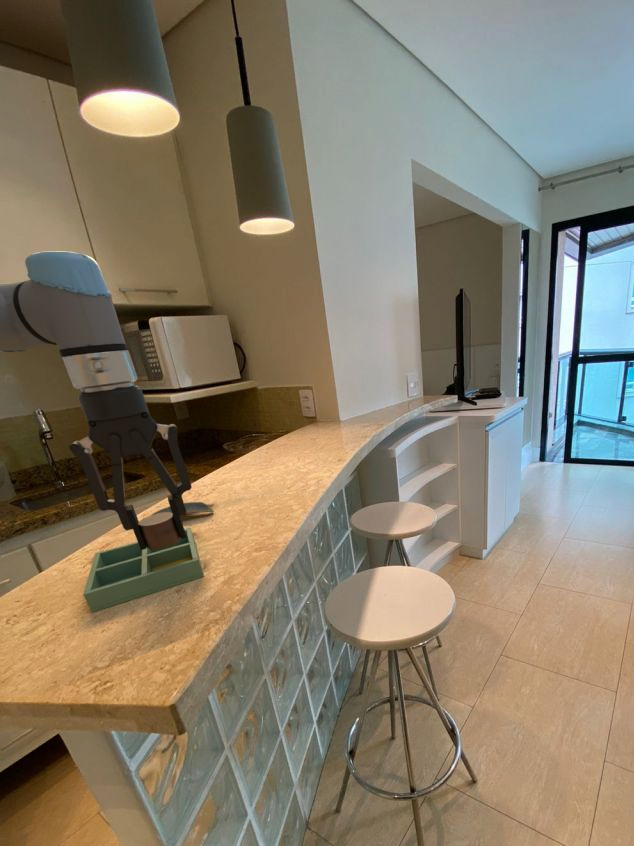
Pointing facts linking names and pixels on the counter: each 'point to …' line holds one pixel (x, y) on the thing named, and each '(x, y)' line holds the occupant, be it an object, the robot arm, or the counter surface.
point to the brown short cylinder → (159, 530)
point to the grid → (140, 571)
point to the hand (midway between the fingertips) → (163, 540)
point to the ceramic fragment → (190, 508)
